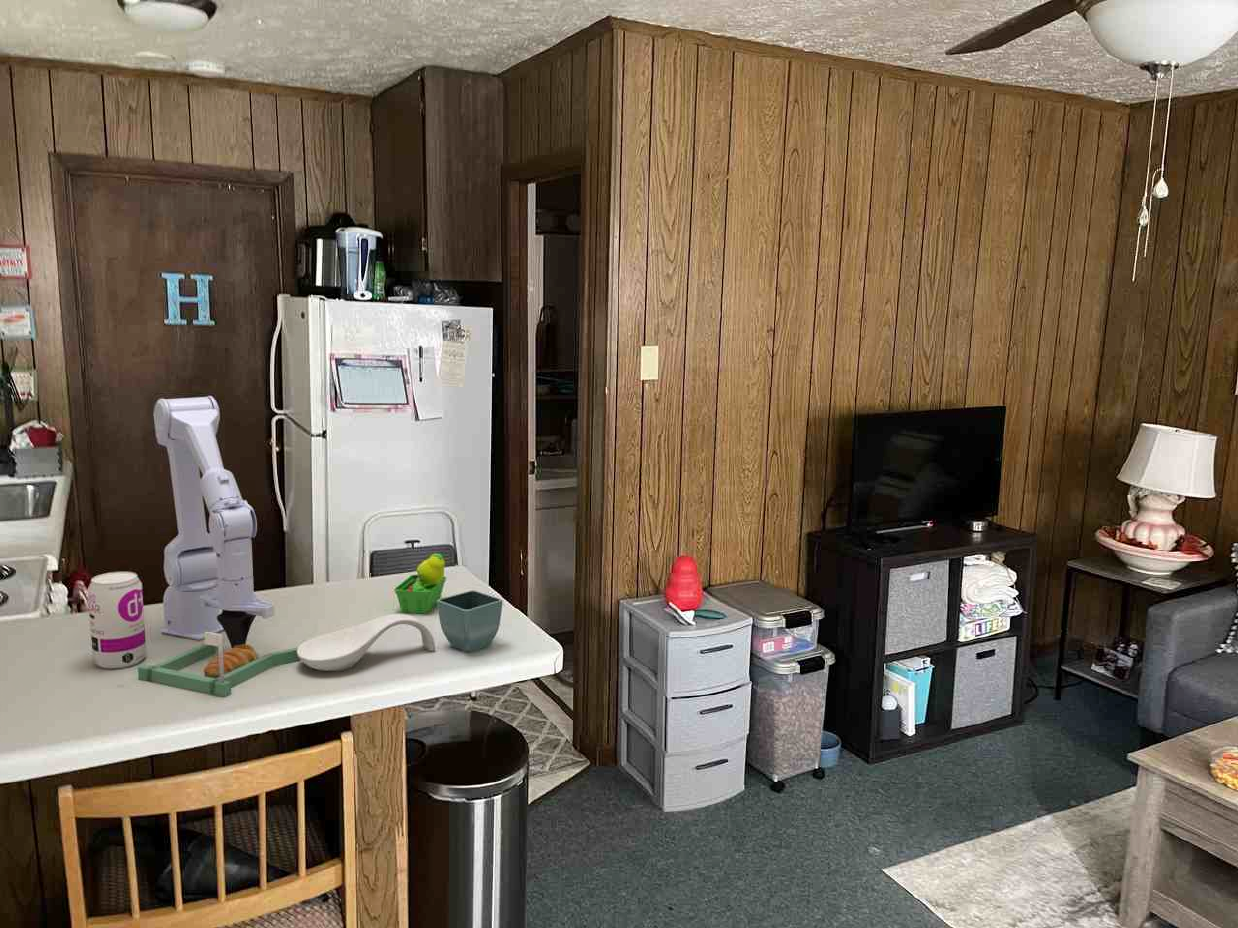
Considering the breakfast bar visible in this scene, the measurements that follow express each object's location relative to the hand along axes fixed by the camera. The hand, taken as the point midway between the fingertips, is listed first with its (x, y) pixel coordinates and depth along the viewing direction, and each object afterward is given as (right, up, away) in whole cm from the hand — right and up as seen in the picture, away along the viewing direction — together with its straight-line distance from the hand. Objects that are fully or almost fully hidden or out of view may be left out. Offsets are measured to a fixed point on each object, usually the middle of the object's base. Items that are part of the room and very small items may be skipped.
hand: (238, 651), depth 171 cm
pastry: (+1, -3, -5) cm, 6 cm away
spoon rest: (+22, -2, +2) cm, 22 cm away
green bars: (-2, -2, -4) cm, 5 cm away
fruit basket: (+26, +3, +31) cm, 40 cm away
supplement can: (-20, -2, -1) cm, 20 cm away
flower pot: (+39, -1, +9) cm, 40 cm away
